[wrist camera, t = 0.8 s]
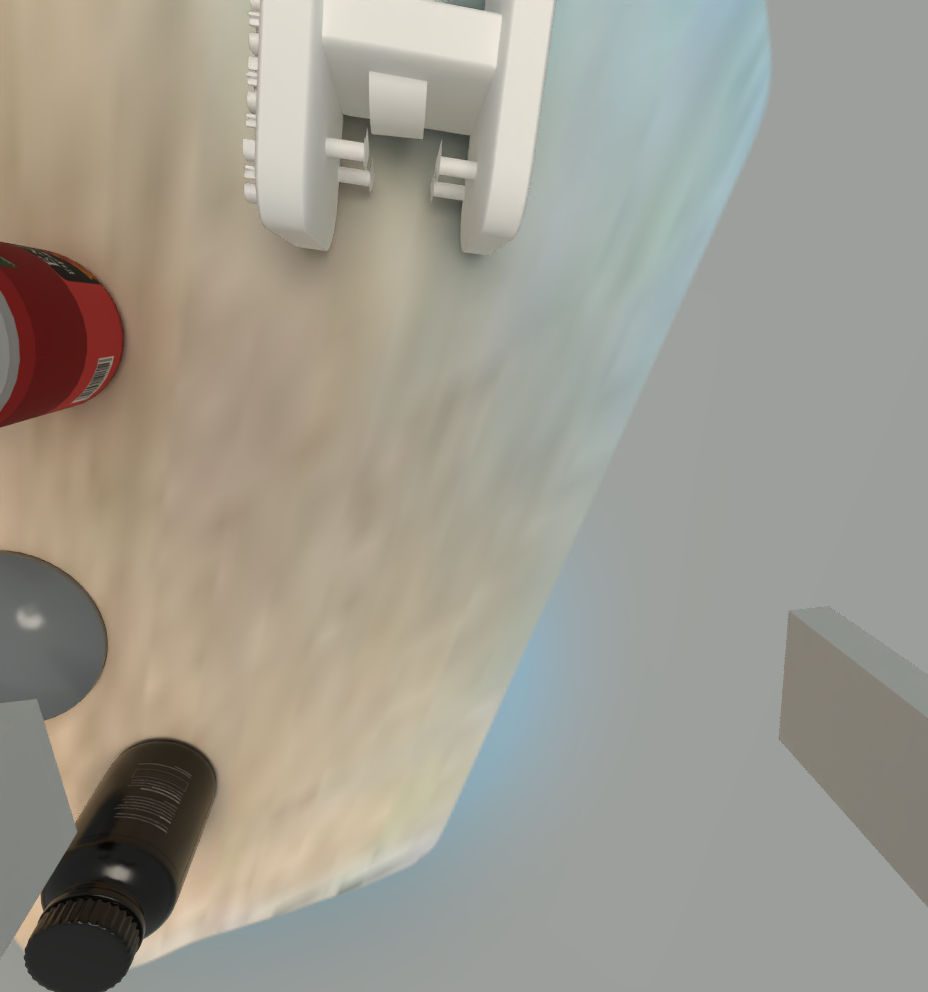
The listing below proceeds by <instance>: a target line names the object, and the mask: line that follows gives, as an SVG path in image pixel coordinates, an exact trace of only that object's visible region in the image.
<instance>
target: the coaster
mask: <svg viewBox="0 0 928 992" xmlns="http://www.w3.org/2000/svg"><path fill="white" fill-rule="evenodd" d="M106 657H107V634H106V629H105V625H104V622H103V619H102V616H101V614H100V612H99V610H98V608H97V606H96V604H95V603H94V601H93V600H92V598H91V597H90V596H89V594H88V593H87V592H86V591H85V590H84V589H83V588H82V586H81V585H80V584H79V583H78V582H76V581H75V580H74V579H73V578H72V577H71V576H69V575H68V574H66V573H65V572H63V571H62V570H61V569H59V568H57V567H55V566H54V565H52V564H50V563H48V562H46V561H43V560H41V559H38V558H36V557H33V556H29V555H26V554H22V553H17V552H11V551H0V703H6V702H15V701H23V700H32V699H37V701H38V704H39V707H40V711H41V714H42V717H43V720H47V719H50V718H53V717H56V716H58V715H60V714H62V713H64V712H66V711H67V710H69V709H71V708H72V707H74V706H75V705H76V704H77V703H78V702H80V701H81V700H82V699H83V698H84V697H85V696H86V694H87V693H88V692H89V691H90V690H91V689H92V687H93V686H94V685H95V683H96V682H97V680H98V678H99V677H100V675H101V673H102V670H103V668H104V665H105V661H106Z"/></svg>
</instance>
